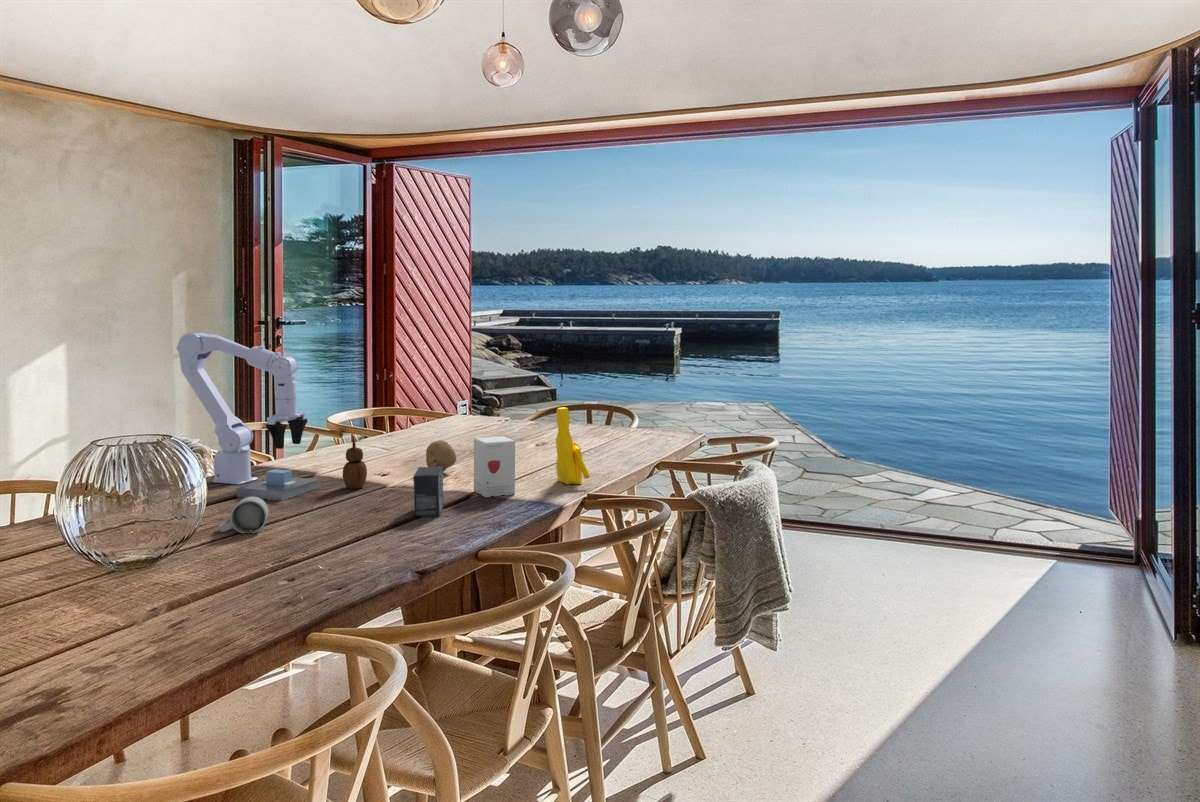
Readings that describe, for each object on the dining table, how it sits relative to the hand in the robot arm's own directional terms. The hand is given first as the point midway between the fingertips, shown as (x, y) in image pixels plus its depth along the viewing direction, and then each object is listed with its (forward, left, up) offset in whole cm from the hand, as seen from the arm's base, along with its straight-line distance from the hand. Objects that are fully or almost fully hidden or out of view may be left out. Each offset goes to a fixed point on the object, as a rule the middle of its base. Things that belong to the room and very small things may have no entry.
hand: (288, 446), depth 249 cm
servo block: (+6, -12, -11) cm, 17 cm away
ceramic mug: (+22, -46, -11) cm, 53 cm away
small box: (+54, -17, -11) cm, 57 cm away
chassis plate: (+6, -12, -10) cm, 17 cm away
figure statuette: (+76, +26, -11) cm, 81 cm away
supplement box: (+61, +7, -11) cm, 62 cm away
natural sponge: (+35, +26, -11) cm, 45 cm away
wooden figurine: (+22, 0, -11) cm, 24 cm away
